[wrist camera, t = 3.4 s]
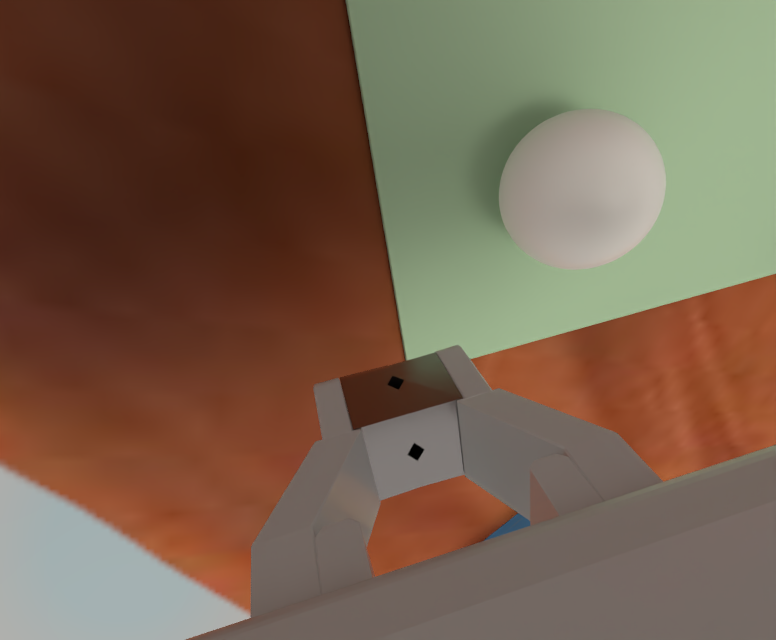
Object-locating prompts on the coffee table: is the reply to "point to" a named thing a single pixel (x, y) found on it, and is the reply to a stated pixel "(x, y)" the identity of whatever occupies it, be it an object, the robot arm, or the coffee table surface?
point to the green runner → (535, 105)
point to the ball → (582, 189)
